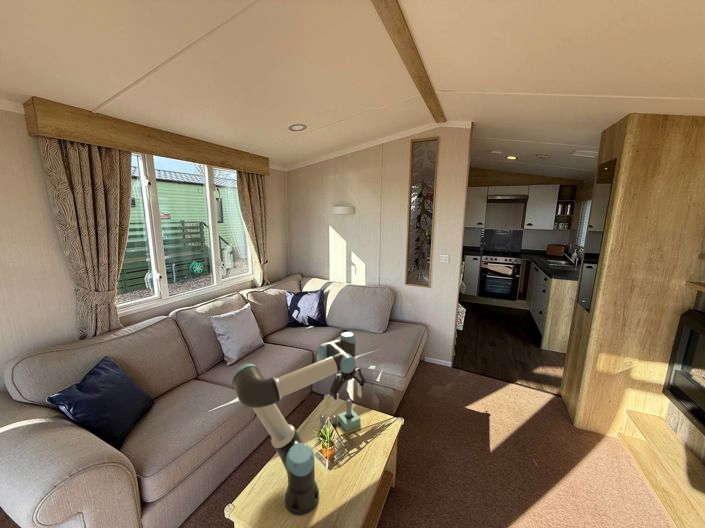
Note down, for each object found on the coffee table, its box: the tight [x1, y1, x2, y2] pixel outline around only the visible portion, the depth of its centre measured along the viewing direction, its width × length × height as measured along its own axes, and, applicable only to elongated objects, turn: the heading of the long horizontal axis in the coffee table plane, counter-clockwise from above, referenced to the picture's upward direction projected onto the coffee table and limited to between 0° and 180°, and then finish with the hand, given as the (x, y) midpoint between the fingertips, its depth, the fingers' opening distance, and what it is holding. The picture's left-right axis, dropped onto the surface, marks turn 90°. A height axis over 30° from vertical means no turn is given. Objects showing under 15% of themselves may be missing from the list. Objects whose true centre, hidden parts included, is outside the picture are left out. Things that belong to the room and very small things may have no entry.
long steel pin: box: [345, 398, 353, 420], centre depth 181 cm, size 3×3×15 cm
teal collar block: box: [337, 408, 362, 432], centre depth 182 cm, size 10×10×4 cm
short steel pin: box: [330, 414, 338, 427], centre depth 181 cm, size 3×3×5 cm
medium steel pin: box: [319, 413, 326, 431], centre depth 176 cm, size 3×3×9 cm
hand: (348, 400), depth 158 cm, fingers open, 13 cm apart
